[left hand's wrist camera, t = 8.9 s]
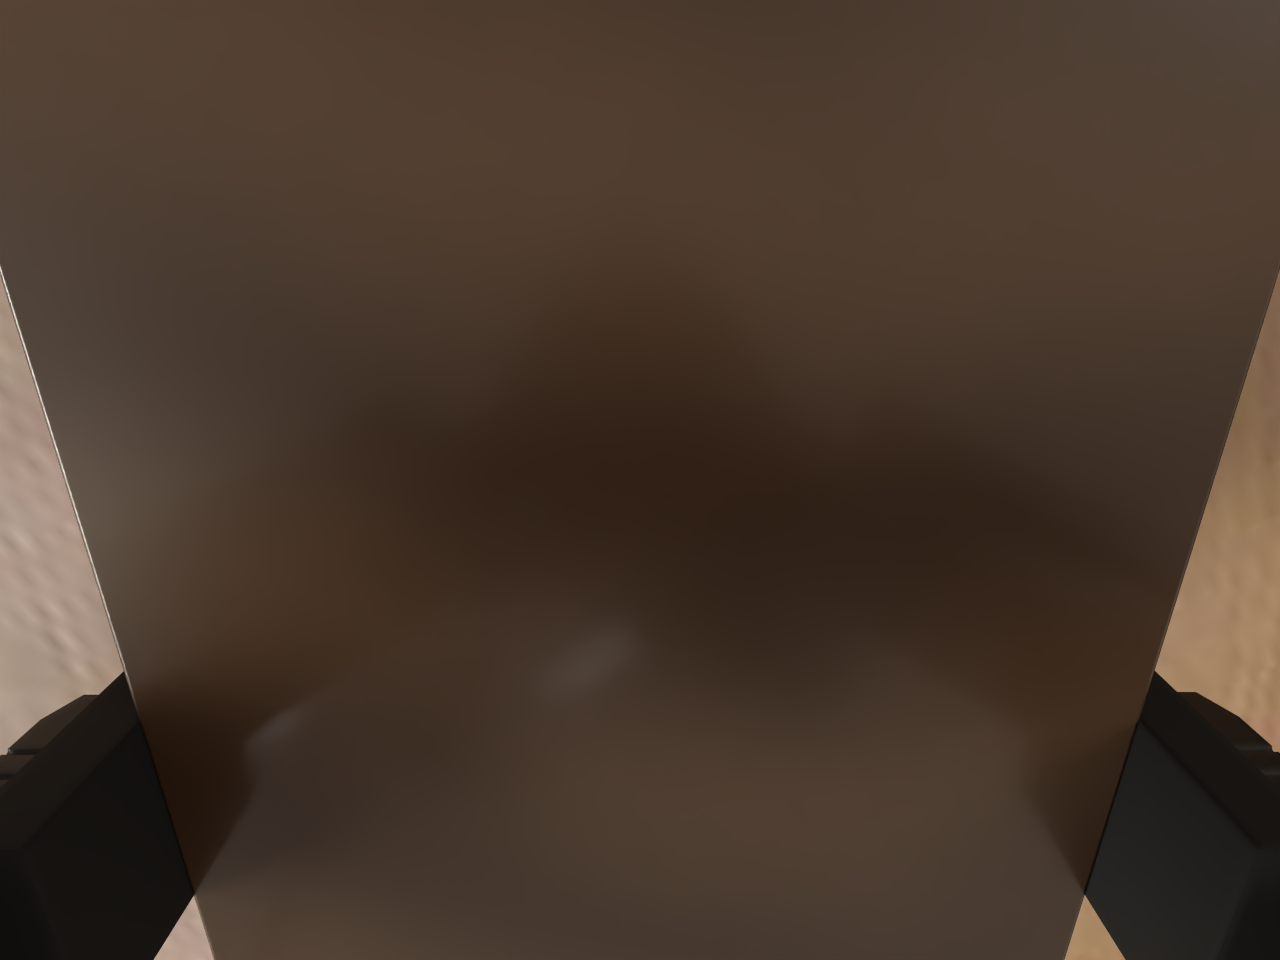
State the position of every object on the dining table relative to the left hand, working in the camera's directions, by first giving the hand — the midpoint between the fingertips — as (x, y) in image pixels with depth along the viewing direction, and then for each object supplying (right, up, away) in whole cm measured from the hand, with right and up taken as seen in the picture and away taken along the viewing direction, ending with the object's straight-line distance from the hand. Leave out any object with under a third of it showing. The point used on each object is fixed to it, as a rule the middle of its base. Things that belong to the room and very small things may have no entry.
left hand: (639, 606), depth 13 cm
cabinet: (0, +6, +3) cm, 7 cm away
